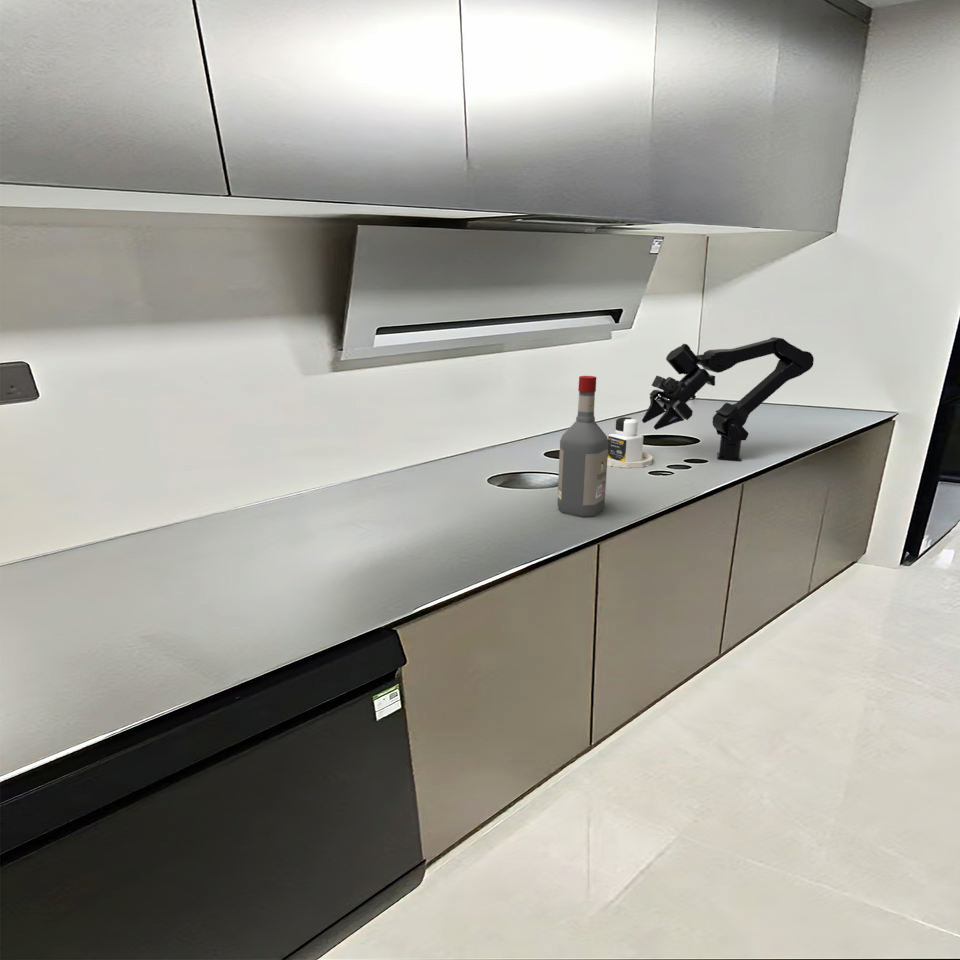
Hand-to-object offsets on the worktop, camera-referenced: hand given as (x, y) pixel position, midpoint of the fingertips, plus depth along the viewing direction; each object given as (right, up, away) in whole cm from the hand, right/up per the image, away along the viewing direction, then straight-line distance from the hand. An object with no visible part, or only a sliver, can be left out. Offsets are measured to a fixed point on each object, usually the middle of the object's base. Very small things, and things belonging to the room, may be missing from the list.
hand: (648, 425), depth 189 cm
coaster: (-7, -10, +2) cm, 12 cm away
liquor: (-25, -23, -39) cm, 52 cm away
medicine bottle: (-7, -10, +2) cm, 12 cm away
